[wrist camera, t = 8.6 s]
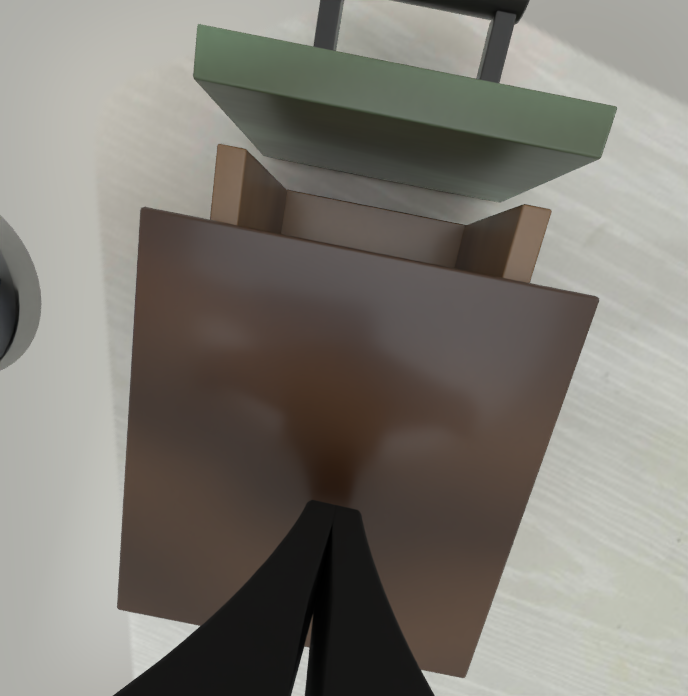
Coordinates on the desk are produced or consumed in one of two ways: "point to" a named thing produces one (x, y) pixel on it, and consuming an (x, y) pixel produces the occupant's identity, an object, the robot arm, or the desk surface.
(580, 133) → the drawer
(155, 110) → the desk surface
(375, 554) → the cabinet
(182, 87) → the desk surface
